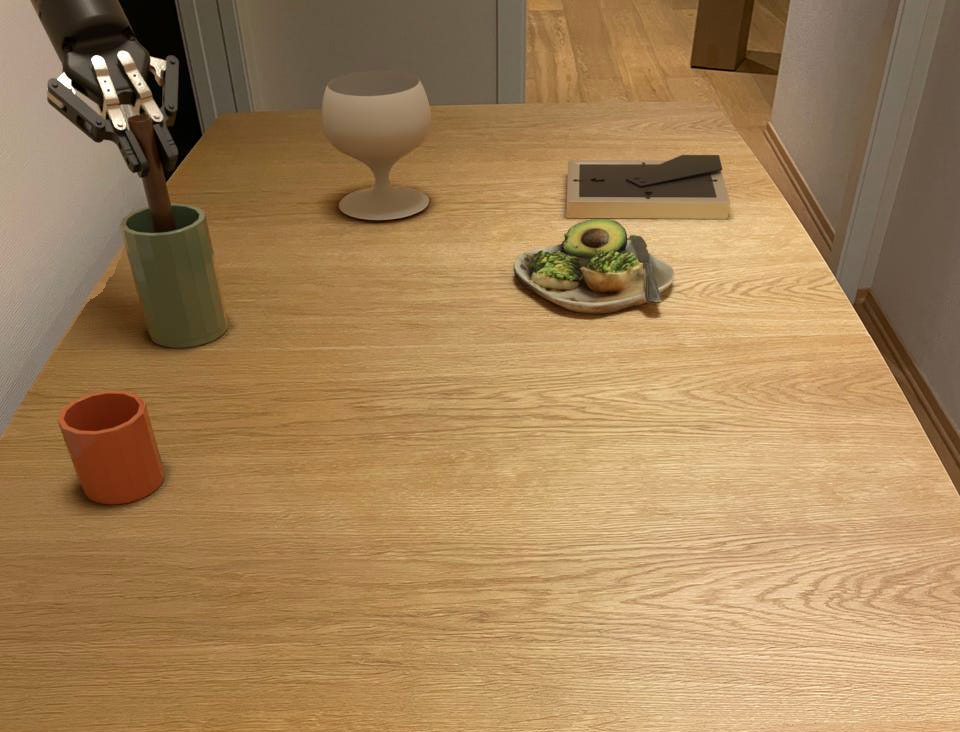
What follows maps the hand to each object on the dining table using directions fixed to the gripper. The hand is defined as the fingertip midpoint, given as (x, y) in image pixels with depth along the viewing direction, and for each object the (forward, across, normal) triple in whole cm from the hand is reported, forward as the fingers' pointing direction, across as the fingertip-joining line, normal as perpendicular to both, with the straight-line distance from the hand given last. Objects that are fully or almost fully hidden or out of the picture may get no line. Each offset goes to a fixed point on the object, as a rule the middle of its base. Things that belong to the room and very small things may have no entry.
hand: (157, 168), depth 97 cm
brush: (+10, 0, -13) cm, 16 cm away
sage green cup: (+11, 0, -14) cm, 17 cm away
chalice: (-1, -36, -26) cm, 45 cm away
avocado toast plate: (+24, -42, -1) cm, 49 cm away
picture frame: (+13, -65, -12) cm, 68 cm away
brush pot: (+27, +17, +3) cm, 33 cm away
